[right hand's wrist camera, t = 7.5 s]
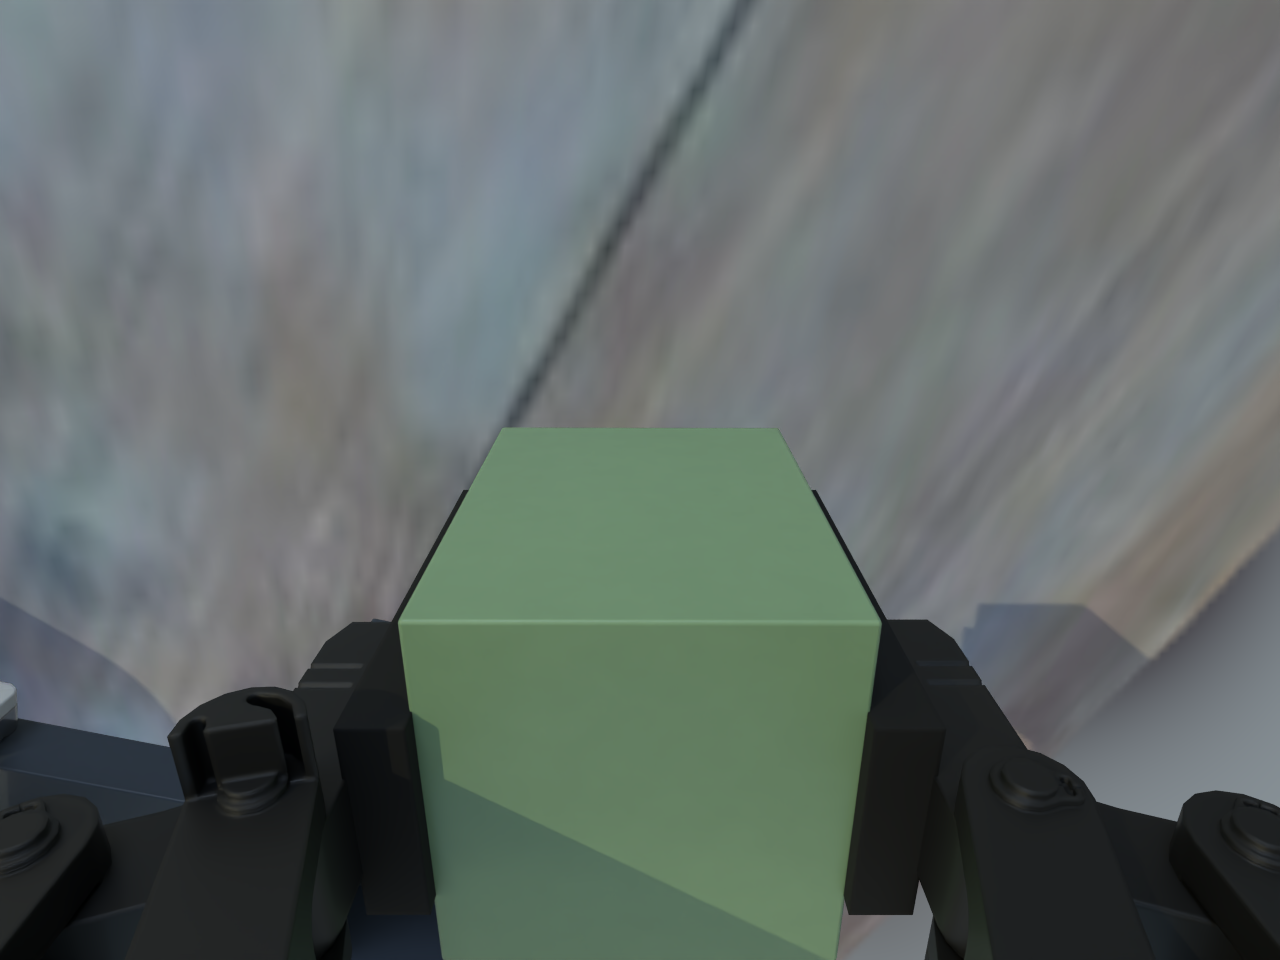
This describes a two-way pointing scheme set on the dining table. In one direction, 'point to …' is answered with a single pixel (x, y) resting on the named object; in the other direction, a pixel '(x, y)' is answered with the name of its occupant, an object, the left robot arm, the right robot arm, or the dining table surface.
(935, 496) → the dining table surface
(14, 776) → the pan
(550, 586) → the block
